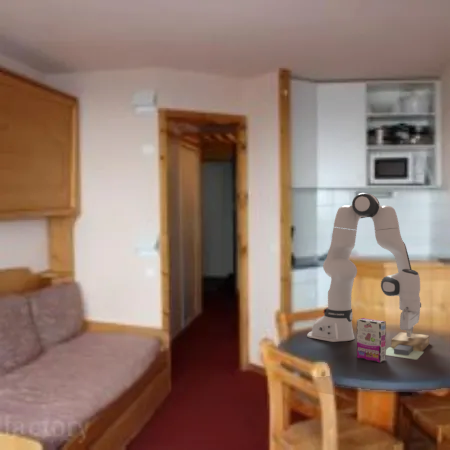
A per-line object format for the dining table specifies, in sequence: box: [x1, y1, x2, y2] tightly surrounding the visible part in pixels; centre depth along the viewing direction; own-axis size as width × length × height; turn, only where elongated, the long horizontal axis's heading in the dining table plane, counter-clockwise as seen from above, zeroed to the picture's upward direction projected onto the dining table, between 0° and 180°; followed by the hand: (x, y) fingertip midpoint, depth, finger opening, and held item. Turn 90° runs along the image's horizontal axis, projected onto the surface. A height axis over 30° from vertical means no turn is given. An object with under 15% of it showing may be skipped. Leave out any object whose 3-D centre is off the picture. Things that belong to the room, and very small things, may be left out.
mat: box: [386, 346, 425, 361], centre depth 238 cm, size 15×13×1 cm
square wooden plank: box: [390, 331, 430, 352], centre depth 250 cm, size 13×16×4 cm
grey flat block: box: [394, 344, 413, 355], centre depth 240 cm, size 6×9×2 cm, turn 149°
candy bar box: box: [356, 317, 387, 363], centre depth 230 cm, size 11×5×16 cm, turn 45°
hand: (409, 336), depth 248 cm, fingers closed
